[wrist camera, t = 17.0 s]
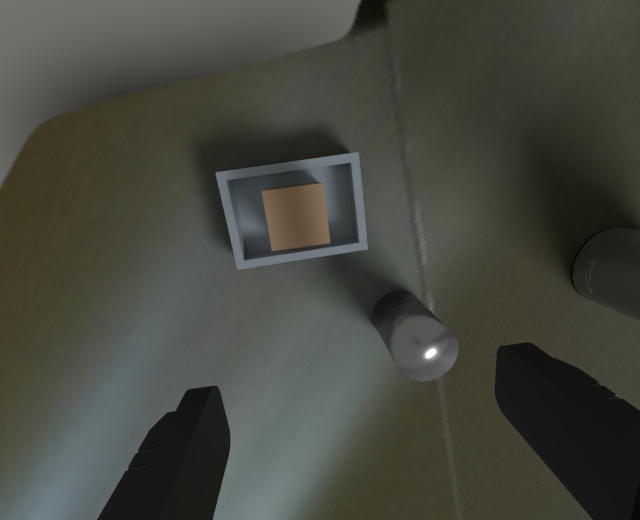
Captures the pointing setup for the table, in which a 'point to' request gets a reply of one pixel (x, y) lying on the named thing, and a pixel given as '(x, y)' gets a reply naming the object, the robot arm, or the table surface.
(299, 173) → the slate tray
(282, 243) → the walnut block
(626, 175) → the table surface
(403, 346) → the grey can
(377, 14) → the table surface
